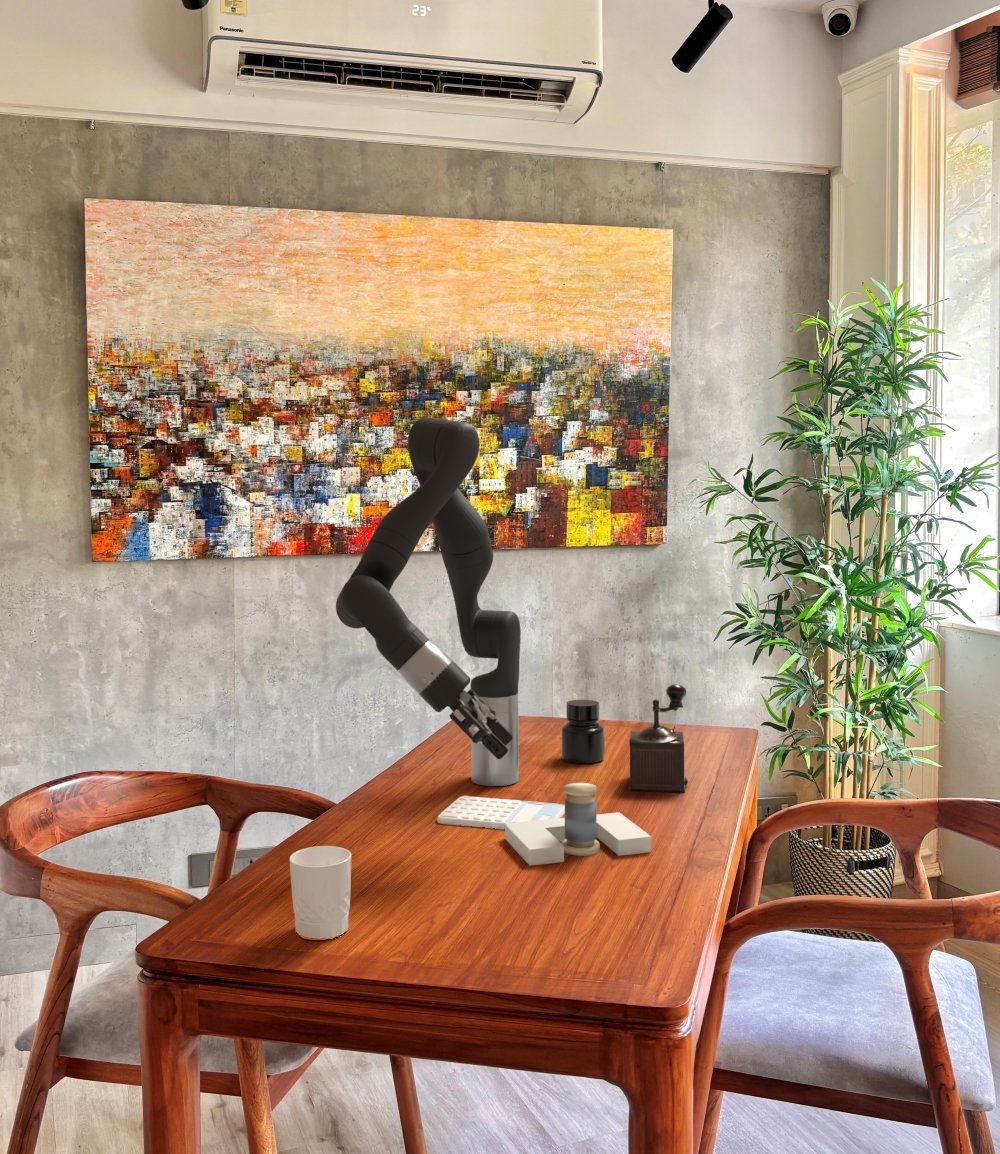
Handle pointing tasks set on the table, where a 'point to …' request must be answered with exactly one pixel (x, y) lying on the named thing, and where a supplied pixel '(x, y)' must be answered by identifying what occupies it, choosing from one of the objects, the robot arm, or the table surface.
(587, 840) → the disc
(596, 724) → the ink bottle
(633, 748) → the manual coffee grinder
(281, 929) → the table surface
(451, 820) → the calculator
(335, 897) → the white cup
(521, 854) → the notched board
